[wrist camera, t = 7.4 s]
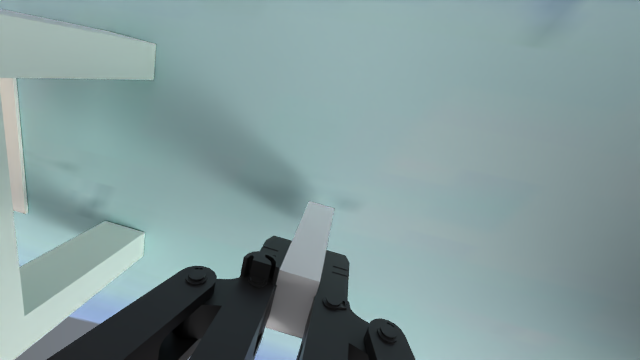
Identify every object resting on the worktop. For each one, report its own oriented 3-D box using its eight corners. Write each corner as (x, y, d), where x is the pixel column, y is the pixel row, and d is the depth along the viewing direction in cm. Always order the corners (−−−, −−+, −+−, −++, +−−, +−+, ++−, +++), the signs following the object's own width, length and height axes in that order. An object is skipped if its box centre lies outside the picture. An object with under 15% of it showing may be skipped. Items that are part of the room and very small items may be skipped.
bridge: (155, 44, 17) (-60, 2, 8) (143, 255, 22) (-1, 371, 13) (106, 30, 17) (-157, -24, 8) (104, 244, 22) (-64, 351, 13)
